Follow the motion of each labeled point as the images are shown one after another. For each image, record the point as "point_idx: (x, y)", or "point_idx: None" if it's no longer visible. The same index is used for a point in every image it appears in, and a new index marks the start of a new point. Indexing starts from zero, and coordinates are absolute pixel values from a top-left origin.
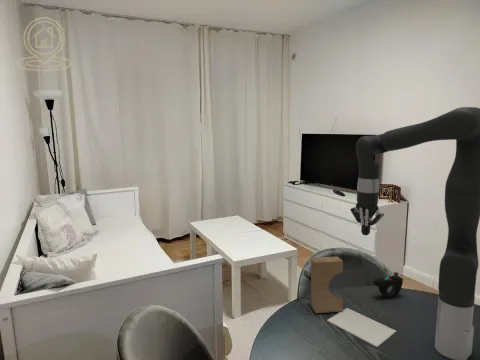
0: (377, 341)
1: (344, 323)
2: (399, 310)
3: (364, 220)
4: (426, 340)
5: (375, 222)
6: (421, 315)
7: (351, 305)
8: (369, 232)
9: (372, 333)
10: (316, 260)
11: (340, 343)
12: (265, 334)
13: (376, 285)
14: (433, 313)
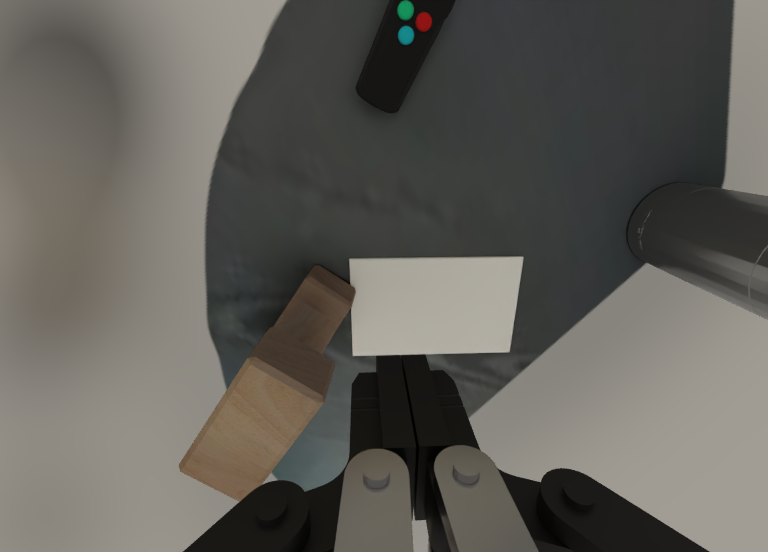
0: (502, 336)
1: (396, 334)
2: (483, 120)
3: (361, 536)
4: (602, 229)
5: (625, 537)
6: (557, 90)
7: (345, 226)
8: (453, 393)
9: (477, 317)
10: (230, 486)
11: None
12: None
13: (385, 111)
14: (591, 33)
